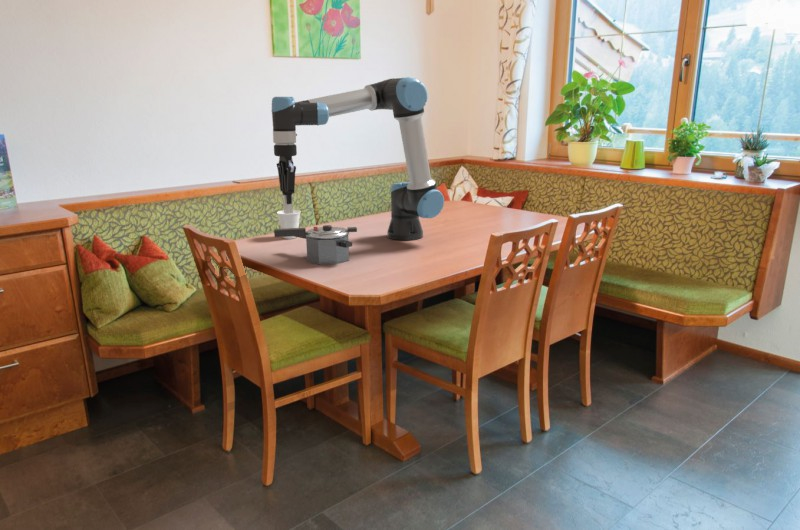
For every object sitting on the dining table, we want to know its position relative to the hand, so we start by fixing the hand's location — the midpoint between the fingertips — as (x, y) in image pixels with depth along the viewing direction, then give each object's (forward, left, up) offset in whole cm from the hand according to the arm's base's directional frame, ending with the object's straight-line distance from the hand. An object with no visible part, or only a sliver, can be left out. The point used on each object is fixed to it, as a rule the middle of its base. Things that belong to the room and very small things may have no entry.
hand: (288, 212), depth 210 cm
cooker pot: (-7, -12, -19) cm, 23 cm away
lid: (-6, -8, -9) cm, 14 cm away
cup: (+19, -39, -19) cm, 47 cm away
